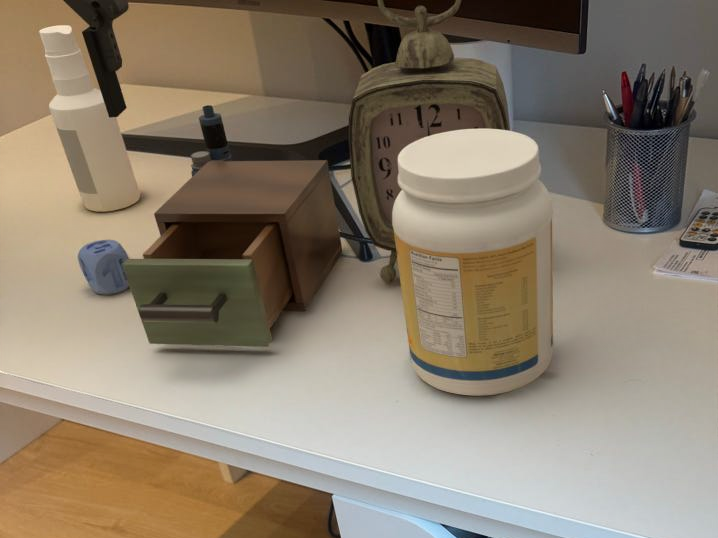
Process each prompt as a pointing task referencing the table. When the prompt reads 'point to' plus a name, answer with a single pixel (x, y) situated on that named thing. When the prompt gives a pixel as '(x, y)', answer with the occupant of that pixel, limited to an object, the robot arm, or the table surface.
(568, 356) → the table surface
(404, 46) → the tabletop clock
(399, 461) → the table surface
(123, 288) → the decorative dice
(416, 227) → the supplement tub
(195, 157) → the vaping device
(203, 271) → the drawer
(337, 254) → the cabinet
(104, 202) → the spray bottle
